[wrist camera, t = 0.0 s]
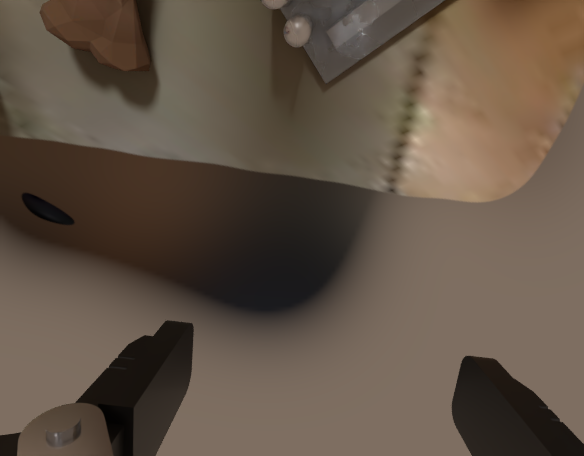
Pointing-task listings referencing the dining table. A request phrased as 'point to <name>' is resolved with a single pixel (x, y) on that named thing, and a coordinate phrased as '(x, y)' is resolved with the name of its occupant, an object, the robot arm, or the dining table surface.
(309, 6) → the rail
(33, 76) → the dining table surface
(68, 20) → the hammer
